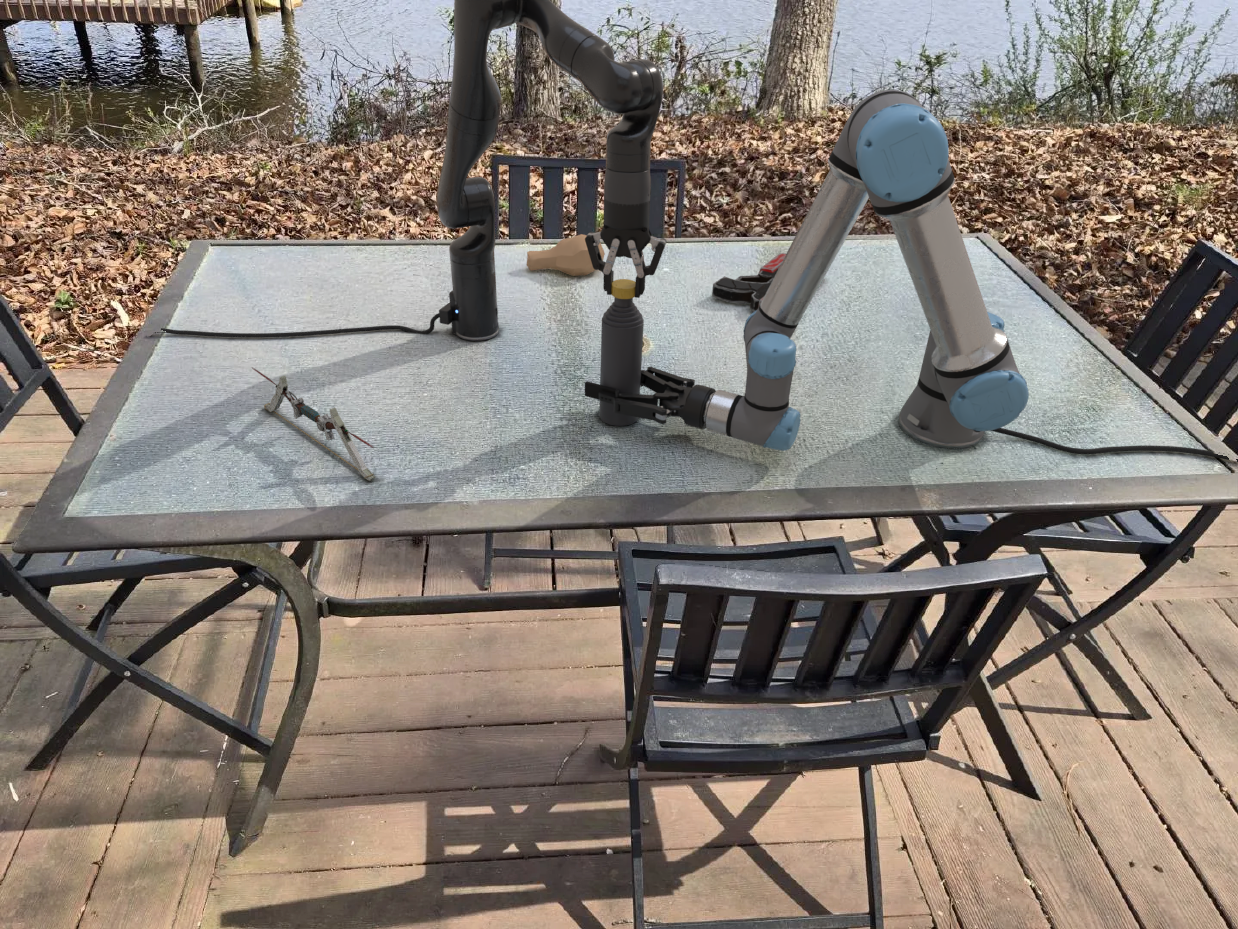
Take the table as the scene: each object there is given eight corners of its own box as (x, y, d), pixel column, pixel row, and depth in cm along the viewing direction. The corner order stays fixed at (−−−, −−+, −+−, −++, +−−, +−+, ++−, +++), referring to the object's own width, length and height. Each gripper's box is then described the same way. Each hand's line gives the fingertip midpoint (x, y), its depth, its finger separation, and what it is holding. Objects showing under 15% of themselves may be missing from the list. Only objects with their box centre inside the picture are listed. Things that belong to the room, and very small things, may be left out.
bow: (385, 483, 144) (378, 432, 138) (376, 488, 143) (368, 436, 137) (265, 401, 165) (254, 353, 160) (256, 404, 164) (245, 356, 158)
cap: (611, 299, 149) (611, 288, 148) (610, 289, 153) (610, 278, 152) (637, 299, 149) (638, 288, 148) (636, 289, 153) (636, 278, 152)
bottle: (592, 411, 165) (595, 284, 152) (627, 403, 168) (632, 278, 155) (610, 429, 160) (614, 299, 146) (645, 421, 163) (653, 293, 149)
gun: (708, 284, 207) (784, 305, 199) (760, 245, 229) (831, 262, 221) (706, 302, 209) (781, 323, 201) (758, 261, 231) (828, 278, 223)
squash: (606, 279, 220) (601, 247, 214) (527, 286, 222) (521, 255, 215) (606, 257, 228) (602, 226, 222) (531, 264, 229) (524, 233, 223)
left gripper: (578, 198, 140) (578, 299, 149) (667, 205, 138) (661, 307, 147) (589, 185, 146) (588, 282, 155) (673, 192, 144) (668, 290, 153)
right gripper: (686, 455, 149) (569, 421, 157) (729, 403, 164) (620, 374, 172) (689, 417, 144) (569, 384, 153) (733, 367, 160) (621, 339, 168)
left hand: (624, 294), depth 151 cm, fingers closed on cap, 4 cm apart
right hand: (596, 379), depth 162 cm, fingers closed on bottle, 7 cm apart
